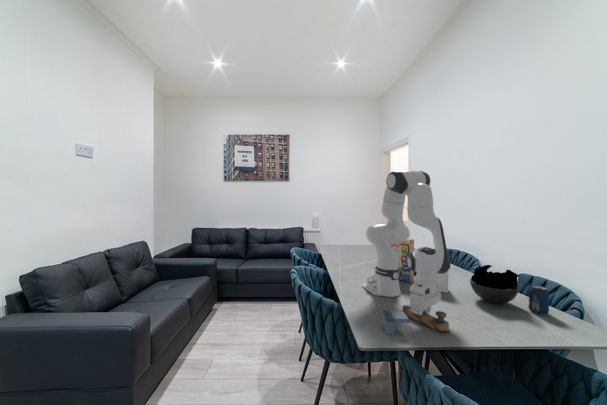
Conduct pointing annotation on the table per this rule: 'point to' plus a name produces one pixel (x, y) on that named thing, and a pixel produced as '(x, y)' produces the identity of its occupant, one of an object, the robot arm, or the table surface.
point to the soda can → (539, 300)
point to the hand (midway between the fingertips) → (426, 316)
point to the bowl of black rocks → (494, 285)
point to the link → (429, 319)
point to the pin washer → (441, 333)
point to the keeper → (392, 320)
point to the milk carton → (443, 282)
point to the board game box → (404, 259)
